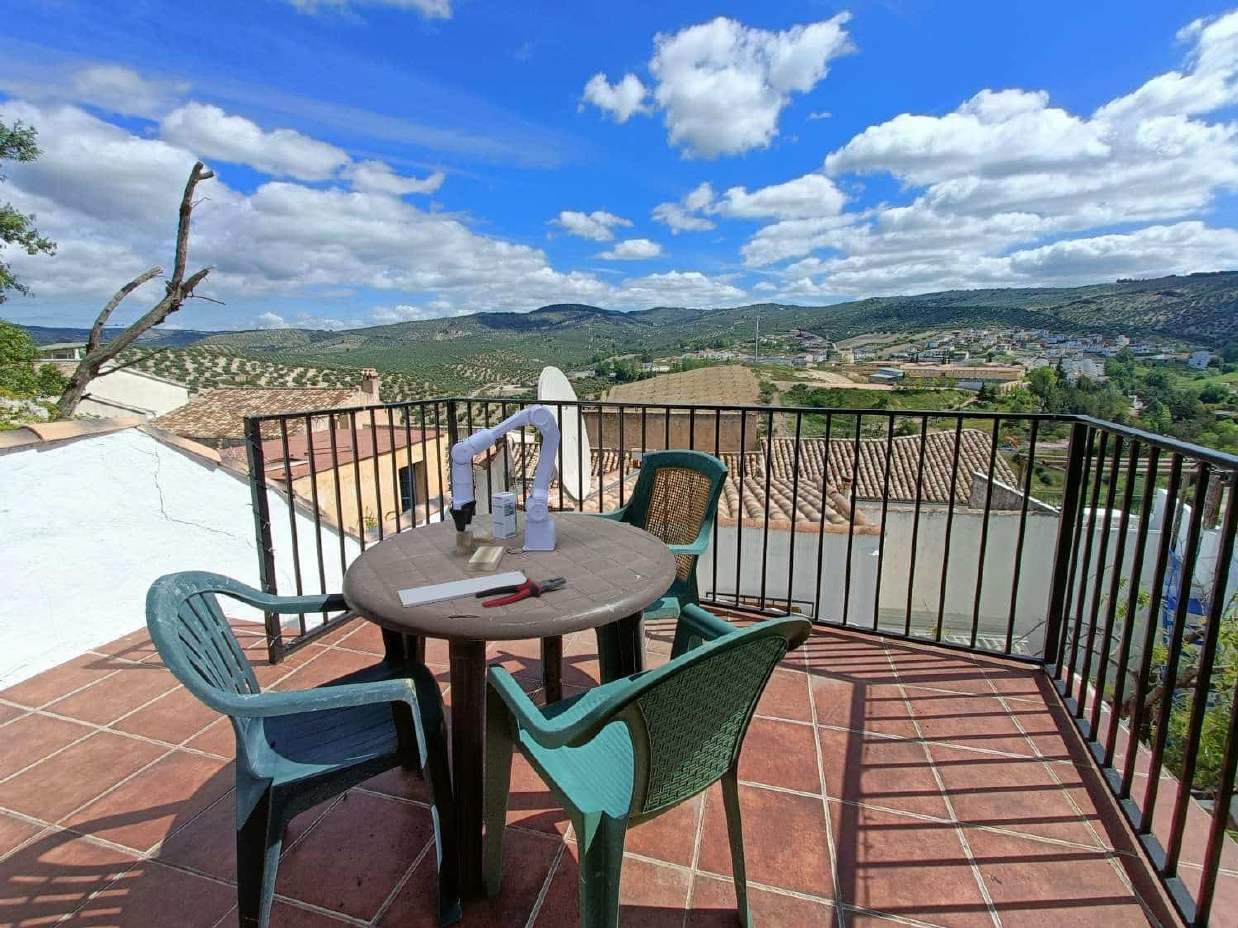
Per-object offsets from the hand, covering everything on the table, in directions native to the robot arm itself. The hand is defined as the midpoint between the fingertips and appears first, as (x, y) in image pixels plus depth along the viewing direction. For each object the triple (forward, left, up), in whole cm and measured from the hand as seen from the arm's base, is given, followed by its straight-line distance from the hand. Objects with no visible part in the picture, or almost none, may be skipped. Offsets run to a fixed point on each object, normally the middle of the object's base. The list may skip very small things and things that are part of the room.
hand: (464, 527), depth 172 cm
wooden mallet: (-4, 0, -8) cm, 8 cm away
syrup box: (-9, -17, -8) cm, 21 cm away
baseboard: (-7, +29, -8) cm, 31 cm away
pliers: (-22, +33, -8) cm, 41 cm away
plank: (-9, +9, -8) cm, 15 cm away
